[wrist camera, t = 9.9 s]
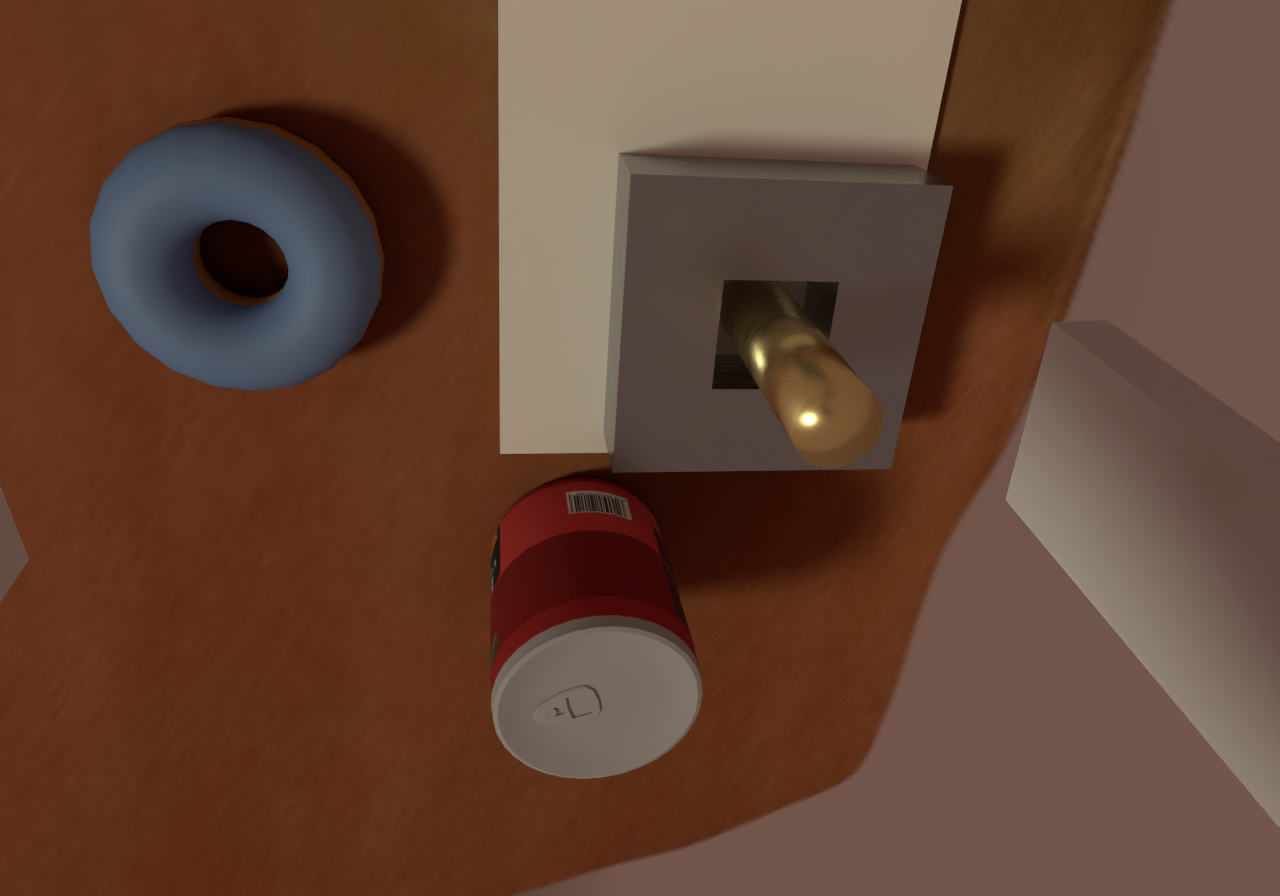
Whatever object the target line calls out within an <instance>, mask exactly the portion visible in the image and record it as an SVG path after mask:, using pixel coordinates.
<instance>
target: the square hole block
mask: <svg viewBox="0 0 1280 896" xmlns="http://www.w3.org/2000/svg"><path fill="white" fill-rule="evenodd" d="M952 191H953V185H951V184H949V183H948V182H946V181H944V180H942V179H940V178H939V177H937V176H935V175H933V174H931V173H930V172H928V171H926V170H924V169H922V168H920V167H919V166H917V165H901V164H876V163H852V162H827V161H802V160H777V159H752V158H727V157H702V156H677V155H652V154H627V153H619V155H618V173H617V192H616V210H615V229H614V247H613V265H612V284H611V302H610V321H609V339H608V357H607V376H606V394H605V413H604V431H603V433H604V438H605V442H606V446H607V451H608V455H609V459H610V464H611V468H612V472H613V473H624V472H702V471H779V470H857V469H891V466H892V462H893V457H894V453H895V448H896V444H897V439H898V435H899V430H900V426H901V421H902V417H903V412H904V408H905V403H906V399H907V394H908V390H909V385H910V380H911V376H912V371H913V367H914V362H915V358H916V353H917V349H918V344H919V340H920V335H921V331H922V326H923V322H924V317H925V313H926V308H927V304H928V299H929V295H930V290H931V286H932V281H933V277H934V272H935V268H936V263H937V258H938V254H939V249H940V245H941V240H942V236H943V231H944V227H945V222H946V218H947V213H948V209H949V204H950V200H951V195H952ZM724 280H763V281H808V282H807V288H806V295H805V301H804V307H803V310H804V311H805V313H806V314H807V315H808V316H809V317H810V319H811V320H812V321H813V322H814V323H815V325H816V326H817V327H818V328H819V329H820V331H821V332H822V333H823V334H824V336H825V337H826V338H827V339H828V340H829V342H830V343H831V344H832V345H833V346H834V348H835V349H836V350H837V351H838V352H839V354H840V355H841V356H842V357H843V358H844V360H845V361H846V362H847V363H848V364H849V366H850V367H851V368H852V369H853V370H854V372H855V373H856V374H857V375H858V376H859V378H860V379H861V380H862V381H863V382H864V384H865V385H866V386H867V387H868V389H869V390H870V391H871V392H872V393H873V395H874V396H875V397H876V398H877V400H878V401H879V403H880V405H881V407H882V411H883V428H882V431H881V434H880V436H879V438H878V440H877V442H876V443H875V445H874V446H873V447H872V449H871V450H870V451H869V452H868V453H867V454H865V455H864V456H863V457H862V458H860V459H859V460H857V461H855V462H853V463H851V464H849V465H846V466H842V467H837V468H823V467H818V466H815V465H812V464H810V463H809V462H807V461H806V460H804V459H803V458H802V457H801V456H800V454H799V453H798V452H797V450H796V448H795V447H794V445H793V443H792V442H791V440H790V438H789V437H788V435H787V433H786V432H785V430H784V428H783V427H782V425H781V423H780V422H779V420H778V418H777V417H776V415H775V413H774V412H773V410H772V408H771V407H770V405H769V403H768V402H767V400H766V398H765V396H764V395H763V393H762V391H761V390H760V388H759V386H758V385H757V383H756V381H755V380H754V378H753V376H752V375H751V373H750V371H749V370H748V368H747V366H746V365H745V363H744V361H743V360H742V358H741V356H740V355H716V346H717V337H718V329H719V320H720V311H721V302H722V293H723V284H724Z"/></svg>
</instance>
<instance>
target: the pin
mask: <svg viewBox="0 0 1280 896" xmlns="http://www.w3.org/2000/svg"><path fill="white" fill-rule="evenodd" d="M719 321H720V323H721V325H722V326H723V328H724V330H725V331H726V333H727V335H728V336H729V338H730V340H731V341H732V343H733V345H734V346H735V348H736V350H737V351H738V353H739V355H740V356H741V358H742V360H743V361H744V363H745V365H746V366H747V368H748V370H749V371H750V373H751V375H752V376H753V378H754V380H755V381H756V383H757V385H758V386H759V388H760V390H761V391H762V393H763V395H764V396H765V398H766V400H767V402H768V403H769V405H770V407H771V408H772V410H773V412H774V413H775V415H776V417H777V418H778V420H779V422H780V423H781V425H782V427H783V428H784V430H785V432H786V433H787V435H788V437H789V438H790V440H791V442H792V443H793V445H794V447H795V448H796V450H797V452H798V453H799V454H800V456H801V457H802V458H803V459H804V460H806V461H807V462H809V463H810V464H812V465H815V466H818V467H823V468H837V467H842V466H846V465H849V464H851V463H853V462H855V461H857V460H859V459H860V458H862V457H863V456H864V455H865V454H867V453H868V452H869V451H870V450H871V449H872V447H873V446H874V445H875V443H876V442H877V440H878V438H879V436H880V434H881V431H882V428H883V411H882V407H881V405H880V403H879V401H878V400H877V398H876V397H875V396H874V395H873V393H872V392H871V391H870V390H869V389H868V387H867V386H866V385H865V384H864V382H863V381H862V380H861V379H860V378H859V376H858V375H857V374H856V373H855V372H854V370H853V369H852V368H851V367H850V366H849V364H848V363H847V362H846V361H845V360H844V358H843V357H842V356H841V355H840V354H839V352H838V351H837V350H836V349H835V348H834V346H833V345H832V344H831V343H830V342H829V340H828V339H827V338H826V337H825V336H824V334H823V333H822V332H821V331H820V329H819V328H818V327H817V326H816V325H815V323H814V322H813V321H812V320H811V319H810V317H809V316H808V315H807V314H806V313H805V311H804V310H803V309H802V308H801V307H800V305H799V304H798V303H797V302H796V301H795V299H794V298H793V297H792V296H791V295H790V293H789V292H788V291H787V290H786V289H785V287H784V286H783V285H782V284H781V283H780V281H763V280H731V281H730V282H729V283H728V284H727V285H726V286H725V288H724V289H723V293H722V302H721V311H720V320H719Z"/></svg>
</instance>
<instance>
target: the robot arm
mask: <svg viewBox="0 0 1280 896" xmlns="http://www.w3.org/2000/svg"><path fill="white" fill-rule="evenodd" d="M1006 501H1007V502H1008V503H1009V504H1010V506H1011V507H1012V508H1013V509H1014V510H1015V512H1016V513H1017V514H1018V515H1019V516H1020V518H1021V519H1022V520H1023V521H1024V522H1025V524H1026V525H1027V526H1028V527H1029V528H1030V530H1032V532H1033V533H1034V534H1035V536H1036V537H1037V538H1038V539H1039V540H1040V542H1041V543H1042V544H1043V545H1044V546H1045V547H1046V549H1047V550H1048V551H1049V552H1050V554H1051V555H1052V556H1053V557H1054V558H1055V560H1057V562H1058V563H1059V564H1060V565H1061V567H1062V568H1063V569H1064V570H1065V571H1066V573H1067V574H1068V575H1069V576H1070V577H1071V579H1072V580H1073V581H1074V582H1075V583H1076V585H1077V586H1078V587H1079V588H1080V589H1081V590H1082V592H1083V593H1084V594H1085V595H1086V597H1087V598H1088V599H1089V600H1090V601H1091V602H1092V604H1093V605H1094V606H1095V607H1096V609H1098V611H1099V612H1100V613H1101V614H1102V616H1103V617H1104V618H1105V619H1106V621H1107V622H1108V623H1109V624H1110V625H1111V627H1112V628H1113V629H1114V630H1115V631H1116V633H1117V634H1118V635H1119V636H1120V637H1121V638H1122V639H1123V641H1124V642H1125V643H1126V644H1127V645H1128V647H1129V648H1130V649H1131V650H1132V652H1133V653H1134V654H1135V655H1136V656H1137V658H1138V659H1139V660H1140V661H1141V662H1142V664H1143V665H1144V666H1145V667H1146V668H1147V670H1148V671H1149V672H1150V673H1151V674H1152V675H1153V677H1154V678H1155V679H1156V680H1157V682H1158V683H1159V684H1160V685H1161V686H1162V688H1164V690H1165V691H1166V692H1167V694H1168V695H1169V696H1170V697H1171V698H1172V700H1173V701H1174V702H1175V703H1176V704H1177V705H1178V707H1179V708H1180V709H1181V710H1182V711H1183V713H1184V714H1185V715H1186V716H1187V717H1188V719H1189V720H1190V721H1191V722H1192V723H1193V724H1194V726H1195V727H1196V728H1197V729H1198V731H1199V732H1200V733H1201V734H1202V735H1203V737H1204V738H1205V739H1206V740H1207V741H1208V743H1209V744H1210V745H1211V746H1212V747H1213V749H1214V750H1215V751H1216V752H1217V753H1218V754H1219V756H1220V757H1221V758H1222V759H1223V761H1224V762H1225V763H1226V764H1227V765H1228V767H1229V768H1230V769H1231V770H1232V771H1233V773H1234V774H1235V775H1236V776H1237V777H1238V779H1239V780H1240V781H1241V782H1242V783H1243V785H1244V786H1245V787H1246V788H1247V789H1248V790H1249V792H1250V793H1251V794H1252V795H1253V796H1254V798H1255V799H1256V800H1257V801H1258V802H1259V804H1260V805H1261V806H1262V807H1263V808H1264V810H1265V811H1266V812H1267V813H1268V814H1269V816H1270V817H1271V818H1272V819H1273V820H1274V822H1275V823H1276V824H1277V825H1278V826H1279V828H1280V442H1278V441H1277V440H1276V439H1274V438H1273V437H1271V436H1270V435H1269V434H1267V433H1266V432H1264V431H1263V430H1262V429H1260V428H1259V427H1257V426H1256V425H1254V424H1253V423H1252V422H1250V421H1249V420H1247V419H1246V418H1244V417H1243V416H1242V415H1240V414H1239V413H1237V412H1236V411H1235V410H1233V409H1232V408H1230V407H1229V406H1227V405H1226V404H1225V403H1223V402H1222V401H1221V400H1219V399H1217V398H1216V397H1215V396H1213V395H1212V394H1211V393H1209V392H1208V391H1206V390H1205V389H1203V388H1202V387H1201V386H1199V385H1198V384H1197V383H1195V382H1194V381H1192V380H1191V379H1189V378H1188V377H1187V376H1185V375H1184V374H1182V373H1181V372H1180V371H1178V370H1177V369H1175V368H1174V367H1172V366H1171V365H1170V364H1168V363H1167V362H1165V361H1164V360H1162V359H1161V358H1160V357H1158V356H1157V355H1155V354H1154V353H1153V352H1151V351H1150V350H1149V349H1147V348H1146V347H1144V346H1143V345H1141V344H1140V343H1139V342H1137V341H1136V340H1134V339H1133V338H1131V337H1130V336H1129V335H1127V334H1126V333H1124V332H1123V331H1122V330H1120V329H1119V328H1117V327H1116V326H1115V325H1113V324H1112V323H1110V322H1108V320H1102V321H1101V320H1100V321H1074V322H1052V325H1051V328H1050V332H1049V336H1048V340H1047V344H1046V348H1045V351H1044V355H1043V359H1042V363H1041V367H1040V370H1039V374H1038V378H1037V382H1036V386H1035V390H1034V393H1033V397H1032V401H1031V405H1030V409H1029V413H1028V416H1027V420H1026V424H1025V428H1024V432H1023V435H1022V439H1021V443H1020V447H1019V451H1018V455H1017V458H1016V463H1015V466H1014V470H1013V474H1012V477H1011V481H1010V485H1009V489H1008V493H1007V497H1006ZM28 560H29V559H28V556H27V554H26V551H25V548H24V546H23V543H22V541H21V538H20V536H19V533H18V530H17V528H16V525H15V523H14V520H13V517H12V515H11V512H10V510H9V507H8V505H7V502H6V499H5V497H4V494H3V492H2V489H1V487H0V601H1V600H2V598H3V597H4V595H5V594H6V593H7V591H8V590H9V588H10V587H11V585H12V584H13V582H14V581H15V579H16V578H17V576H18V575H19V574H20V572H21V571H22V569H23V568H24V566H25V565H26V563H27V562H28Z"/></svg>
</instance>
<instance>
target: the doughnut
mask: <svg viewBox="0 0 1280 896" xmlns="http://www.w3.org/2000/svg"><path fill="white" fill-rule="evenodd" d="M225 220H235V221H242V222H247V223H249V224H252V225H254V226H256V227H258V228H260V229H262V230H264V231H265V232H266V233H267V234H268V235H270V236H271V237H272V238H273V239H274V240H275V241H276V242H277V244H278V245H279V247H280V248H281V250H282V251H283V253H284V255H285V258H286V261H287V265H288V279H287V281H286V283H285V286H284V287H283V288H282V289H281V290H280V291H278V292H276V293H274V294H272V295H270V296H264V297H257V298H254V297H247V296H241V295H238V294H236V293H234V292H231V291H229V290H227V289H225V288H224V287H223V286H221V285H220V284H219V283H218V282H216V281H215V280H214V279H213V278H212V276H211V275H210V274H209V272H208V271H207V269H206V268H205V266H204V263H203V260H202V258H201V255H200V238H201V235H202V233H203V231H204V230H205V228H206V227H207V226H209V225H211V224H213V223H215V222H218V221H225ZM90 242H91V259H92V269H93V271H94V273H95V276H96V278H97V281H98V283H99V286H100V288H101V291H102V293H103V295H104V298H105V300H106V303H107V305H108V308H109V309H110V311H111V312H112V313H113V314H114V316H115V317H116V318H117V319H118V321H119V322H120V323H121V324H122V326H123V327H124V328H125V329H126V331H127V332H128V333H129V334H130V335H131V337H132V338H133V339H134V340H135V342H136V343H137V344H138V345H139V346H141V347H142V348H143V349H145V350H146V351H147V352H149V353H150V354H152V355H153V356H154V357H156V358H157V359H159V360H160V361H161V362H163V363H164V364H165V365H167V366H168V367H170V368H171V369H172V370H174V371H177V372H179V373H182V374H184V375H187V376H189V377H192V378H194V379H197V380H200V381H202V382H205V383H207V384H210V385H212V386H218V387H227V388H235V389H244V390H252V391H262V390H268V389H275V388H281V387H288V386H294V385H299V384H301V383H303V382H305V381H307V380H309V379H311V378H313V377H315V376H317V375H319V374H321V373H323V372H325V371H327V370H329V369H331V368H333V367H334V366H335V365H336V364H337V363H338V362H339V361H340V360H341V359H342V358H343V357H344V356H345V355H346V354H347V353H348V352H349V351H350V350H351V349H352V348H353V347H354V346H355V345H356V344H357V343H358V342H359V341H360V340H361V339H362V337H363V335H364V333H365V331H366V329H367V327H368V325H369V322H370V320H371V318H372V316H373V314H374V312H375V309H376V307H377V305H378V303H379V301H380V298H381V293H382V281H383V270H384V254H383V250H382V246H381V242H380V238H379V234H378V230H377V226H376V222H375V218H374V214H373V213H372V211H371V209H370V208H369V206H368V204H367V203H366V201H365V199H364V198H363V196H362V194H361V193H360V191H359V190H358V188H357V186H356V185H355V183H354V181H353V180H352V178H351V177H350V176H349V175H348V174H347V173H346V172H345V171H344V170H343V169H341V168H340V167H339V166H338V165H337V164H336V163H335V162H334V161H333V160H332V159H331V158H329V157H328V156H327V155H326V154H325V153H324V152H323V151H322V150H321V149H320V148H319V147H317V146H316V145H314V144H312V143H310V142H308V141H306V140H304V139H302V138H300V137H298V136H296V135H294V134H292V133H290V132H288V131H286V130H284V129H282V128H280V127H278V126H276V125H272V124H267V123H261V122H256V121H250V120H244V119H239V118H233V117H219V118H211V119H204V120H196V121H189V122H182V123H177V124H175V125H174V126H172V127H170V128H168V129H166V130H164V131H162V132H160V133H158V134H156V135H154V136H152V137H151V138H149V139H147V140H145V141H143V142H141V143H139V144H138V145H137V146H136V147H134V148H132V149H131V151H130V152H129V153H128V154H127V155H126V157H125V158H124V159H123V160H122V161H121V162H120V164H119V165H118V166H117V167H116V168H115V169H114V171H113V172H112V173H111V174H110V175H109V176H108V178H107V179H106V180H105V181H104V183H103V185H102V188H101V191H100V194H99V197H98V200H97V203H96V206H95V209H94V212H93V215H92V219H91V222H90Z"/></svg>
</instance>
